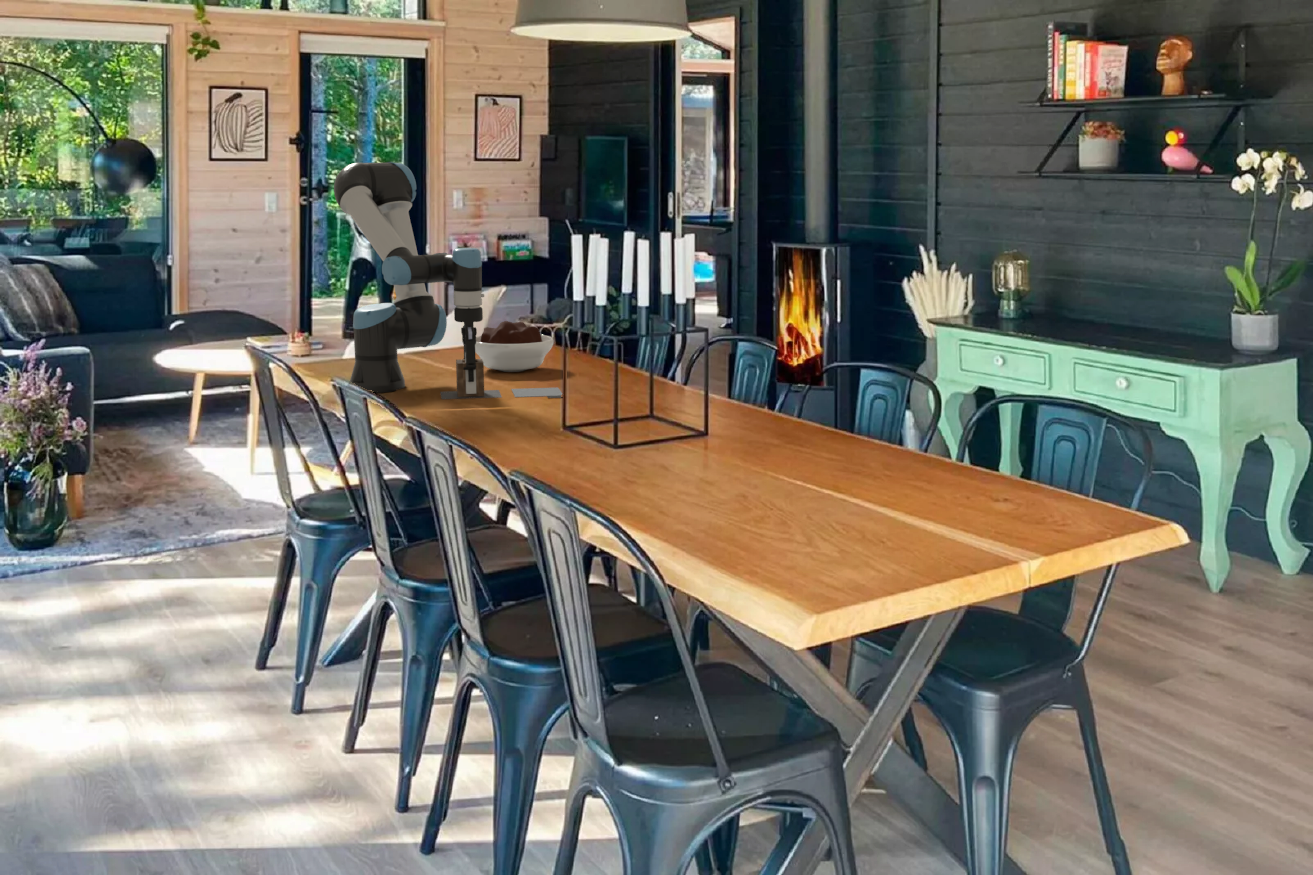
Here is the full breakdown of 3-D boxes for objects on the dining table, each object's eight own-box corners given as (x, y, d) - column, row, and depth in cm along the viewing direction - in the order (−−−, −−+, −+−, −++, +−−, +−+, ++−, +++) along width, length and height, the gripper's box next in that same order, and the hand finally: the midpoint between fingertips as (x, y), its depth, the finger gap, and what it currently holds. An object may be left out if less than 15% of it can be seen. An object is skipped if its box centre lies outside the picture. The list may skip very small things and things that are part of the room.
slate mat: (515, 399, 378) (515, 396, 378) (511, 391, 391) (511, 388, 391) (563, 397, 381) (563, 395, 380) (558, 389, 393) (558, 387, 393)
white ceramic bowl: (492, 362, 444) (491, 314, 441) (566, 365, 436) (565, 317, 433) (457, 374, 421) (455, 323, 418) (534, 378, 413) (533, 326, 410)
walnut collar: (458, 396, 378) (457, 363, 377) (457, 392, 385) (456, 359, 383) (484, 395, 380) (483, 362, 378) (482, 391, 386) (481, 358, 385)
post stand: (441, 401, 375) (440, 356, 373) (440, 393, 387) (438, 350, 384) (502, 399, 378) (501, 354, 376) (498, 391, 390) (497, 348, 387)
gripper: (484, 310, 369) (486, 396, 373) (480, 302, 388) (482, 384, 393) (455, 310, 367) (458, 397, 372) (452, 302, 387) (454, 385, 391)
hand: (470, 390), depth 382 cm, fingers closed on walnut collar, 7 cm apart
